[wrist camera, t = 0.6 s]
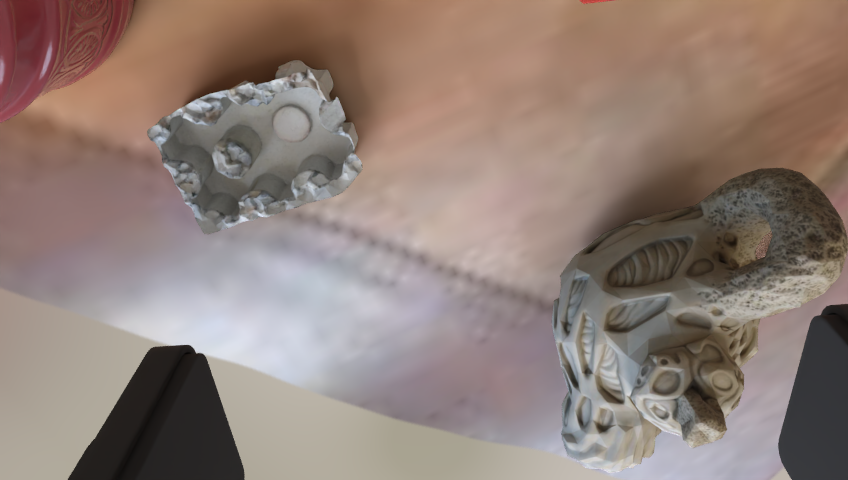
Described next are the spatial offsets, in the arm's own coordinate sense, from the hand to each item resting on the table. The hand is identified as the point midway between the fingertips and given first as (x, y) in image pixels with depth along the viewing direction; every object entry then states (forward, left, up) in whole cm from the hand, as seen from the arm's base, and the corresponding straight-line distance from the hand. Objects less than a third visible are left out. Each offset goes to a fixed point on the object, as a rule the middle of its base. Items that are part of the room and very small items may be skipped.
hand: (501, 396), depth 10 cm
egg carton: (+5, -12, -28) cm, 31 cm away
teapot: (+16, +10, -28) cm, 34 cm away
